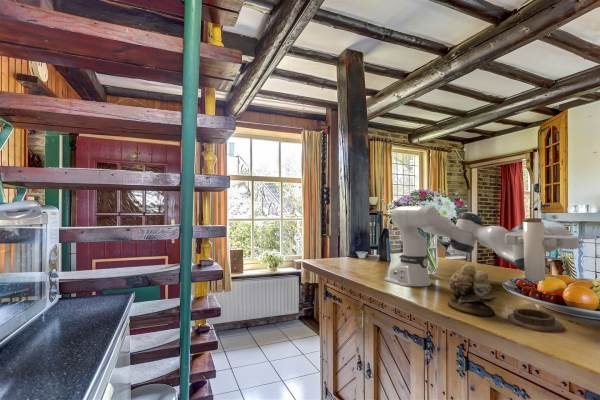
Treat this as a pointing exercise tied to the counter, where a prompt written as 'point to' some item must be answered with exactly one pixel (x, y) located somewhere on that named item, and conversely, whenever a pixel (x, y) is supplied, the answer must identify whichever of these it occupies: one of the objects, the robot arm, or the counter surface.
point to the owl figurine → (471, 292)
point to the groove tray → (537, 328)
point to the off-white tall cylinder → (534, 249)
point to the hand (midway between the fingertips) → (532, 242)
